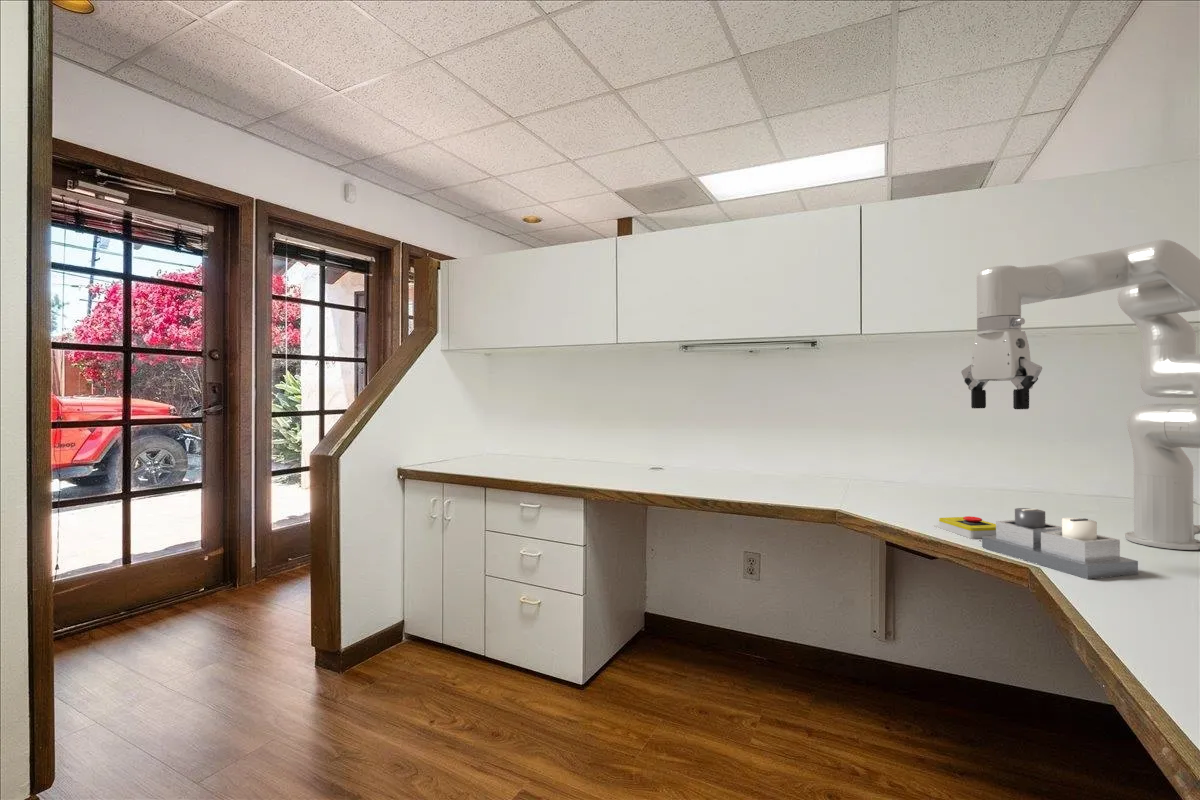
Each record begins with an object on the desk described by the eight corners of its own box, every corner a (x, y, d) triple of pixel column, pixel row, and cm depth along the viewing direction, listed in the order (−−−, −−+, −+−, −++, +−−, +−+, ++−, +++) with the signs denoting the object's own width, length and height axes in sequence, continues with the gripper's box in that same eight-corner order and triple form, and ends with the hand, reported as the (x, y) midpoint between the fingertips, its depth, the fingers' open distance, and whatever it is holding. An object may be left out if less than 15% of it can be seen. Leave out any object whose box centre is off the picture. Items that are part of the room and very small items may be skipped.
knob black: (1028, 534, 122) (1027, 506, 122) (1051, 540, 117) (1051, 511, 117) (1008, 536, 121) (1008, 507, 121) (1031, 542, 116) (1031, 512, 116)
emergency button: (975, 524, 130) (930, 511, 144) (975, 543, 130) (930, 528, 145) (1012, 523, 131) (963, 510, 146) (1012, 541, 131) (963, 526, 146)
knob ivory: (1075, 546, 113) (1075, 515, 113) (1104, 553, 108) (1103, 521, 108) (1055, 548, 112) (1055, 517, 111) (1082, 555, 106) (1082, 522, 106)
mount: (1025, 544, 126) (1025, 517, 126) (1138, 574, 105) (1137, 541, 105) (982, 547, 124) (981, 520, 124) (1087, 579, 102) (1087, 545, 102)
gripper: (1055, 321, 109) (1055, 409, 109) (977, 331, 125) (977, 407, 125) (1023, 320, 107) (1024, 409, 107) (949, 331, 124) (949, 408, 124)
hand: (999, 408), depth 116 cm, fingers open, 9 cm apart
